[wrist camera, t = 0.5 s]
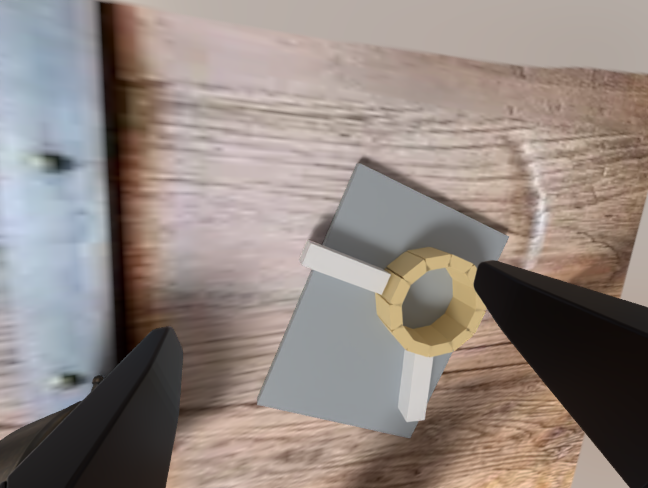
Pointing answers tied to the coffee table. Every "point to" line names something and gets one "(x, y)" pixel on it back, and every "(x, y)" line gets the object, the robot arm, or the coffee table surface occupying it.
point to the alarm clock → (31, 437)
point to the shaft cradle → (380, 308)
